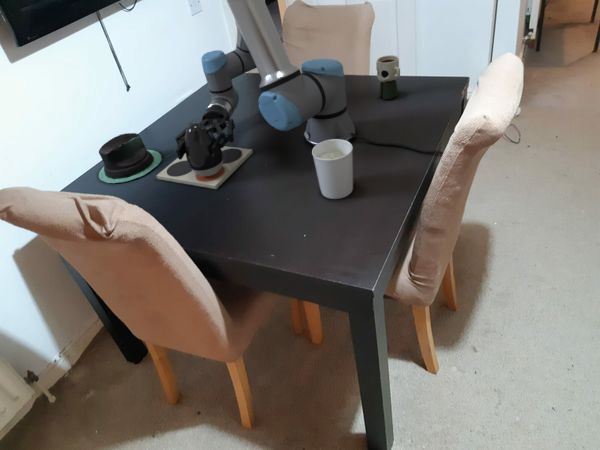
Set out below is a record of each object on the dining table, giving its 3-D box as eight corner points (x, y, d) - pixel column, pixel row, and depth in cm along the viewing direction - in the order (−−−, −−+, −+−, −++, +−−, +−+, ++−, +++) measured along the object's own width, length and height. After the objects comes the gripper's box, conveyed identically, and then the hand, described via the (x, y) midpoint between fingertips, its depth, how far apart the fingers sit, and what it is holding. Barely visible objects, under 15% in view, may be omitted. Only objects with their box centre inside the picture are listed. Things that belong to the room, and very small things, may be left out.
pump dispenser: (221, 181, 121) (205, 131, 112) (186, 181, 124) (169, 133, 114) (232, 161, 129) (218, 113, 120) (199, 162, 131) (184, 115, 122)
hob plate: (253, 152, 135) (252, 148, 134) (216, 189, 122) (215, 185, 121) (197, 145, 144) (195, 142, 144) (157, 179, 131) (155, 175, 130)
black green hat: (127, 144, 151) (175, 149, 144) (106, 192, 146) (154, 200, 138) (97, 119, 138) (147, 123, 131) (72, 171, 132) (124, 178, 125)
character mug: (370, 96, 154) (368, 59, 146) (385, 89, 156) (384, 52, 148) (391, 104, 146) (391, 66, 138) (407, 97, 149) (407, 58, 141)
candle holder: (332, 175, 118) (327, 135, 111) (363, 185, 113) (360, 143, 105) (310, 194, 113) (303, 154, 106) (341, 205, 107) (336, 163, 100)
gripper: (254, 124, 135) (238, 163, 118) (187, 129, 139) (162, 168, 122) (249, 101, 131) (232, 138, 114) (179, 107, 134) (153, 144, 117)
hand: (196, 153), depth 118 cm, fingers closed on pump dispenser, 9 cm apart
